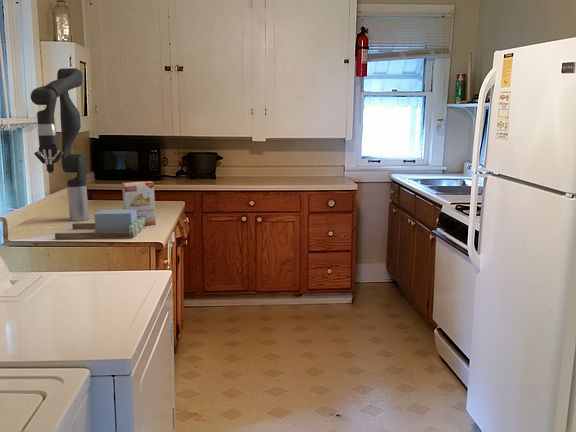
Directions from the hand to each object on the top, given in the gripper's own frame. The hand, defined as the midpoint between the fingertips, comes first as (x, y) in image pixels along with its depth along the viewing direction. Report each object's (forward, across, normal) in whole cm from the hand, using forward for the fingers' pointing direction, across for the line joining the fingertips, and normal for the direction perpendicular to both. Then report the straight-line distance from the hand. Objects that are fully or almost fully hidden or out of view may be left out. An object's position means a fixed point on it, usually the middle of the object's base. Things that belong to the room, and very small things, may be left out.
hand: (50, 172), depth 254 cm
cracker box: (+27, -37, -9) cm, 47 cm away
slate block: (+27, -30, +8) cm, 42 cm away
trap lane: (+27, -24, +8) cm, 37 cm away
